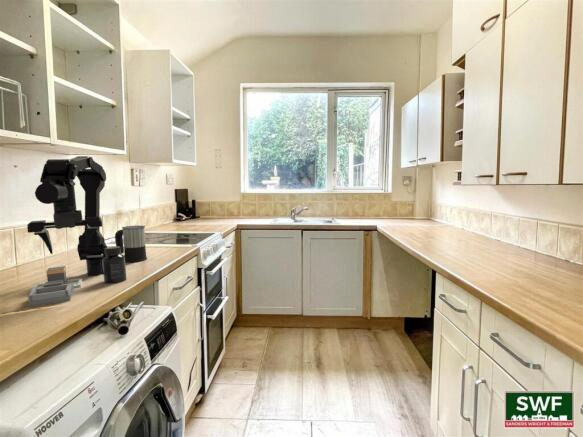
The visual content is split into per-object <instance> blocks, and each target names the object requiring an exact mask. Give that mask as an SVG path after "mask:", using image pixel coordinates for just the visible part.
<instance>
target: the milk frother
mask: <svg viewBox="0 0 583 437" xmlns="http://www.w3.org/2000/svg"><path fill="white" fill-rule="evenodd" d="M145 228H146V225H127V226H122V227H121V229H119V230H117V231H116V232H115V234H114V240H115V246H119V247H121V252H120V254H122V255H124V257H125V263H135V262H136V263H137V262H142V261H146V260H147V259H148V257H147V249H146V233H145V232H146V231H145V230H146V229H145Z"/></svg>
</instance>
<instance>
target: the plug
mask: <svg viewBox="0 0 583 437" xmlns="http://www.w3.org/2000/svg"><path fill="white" fill-rule="evenodd" d="M66 271H67V270H66V266H65V265H64V266H63V265H62V266H55V267H48V268H47V270H46V280H47V281H46V282H48V281H56V280H63V282H64V284H67V280H68V279H67V272H66Z"/></svg>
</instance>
